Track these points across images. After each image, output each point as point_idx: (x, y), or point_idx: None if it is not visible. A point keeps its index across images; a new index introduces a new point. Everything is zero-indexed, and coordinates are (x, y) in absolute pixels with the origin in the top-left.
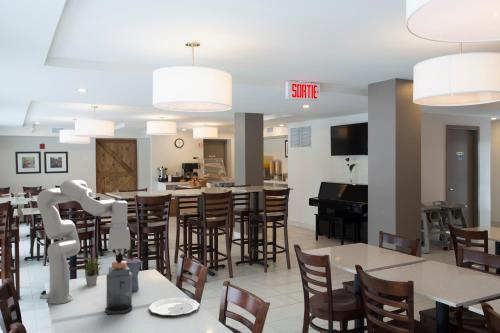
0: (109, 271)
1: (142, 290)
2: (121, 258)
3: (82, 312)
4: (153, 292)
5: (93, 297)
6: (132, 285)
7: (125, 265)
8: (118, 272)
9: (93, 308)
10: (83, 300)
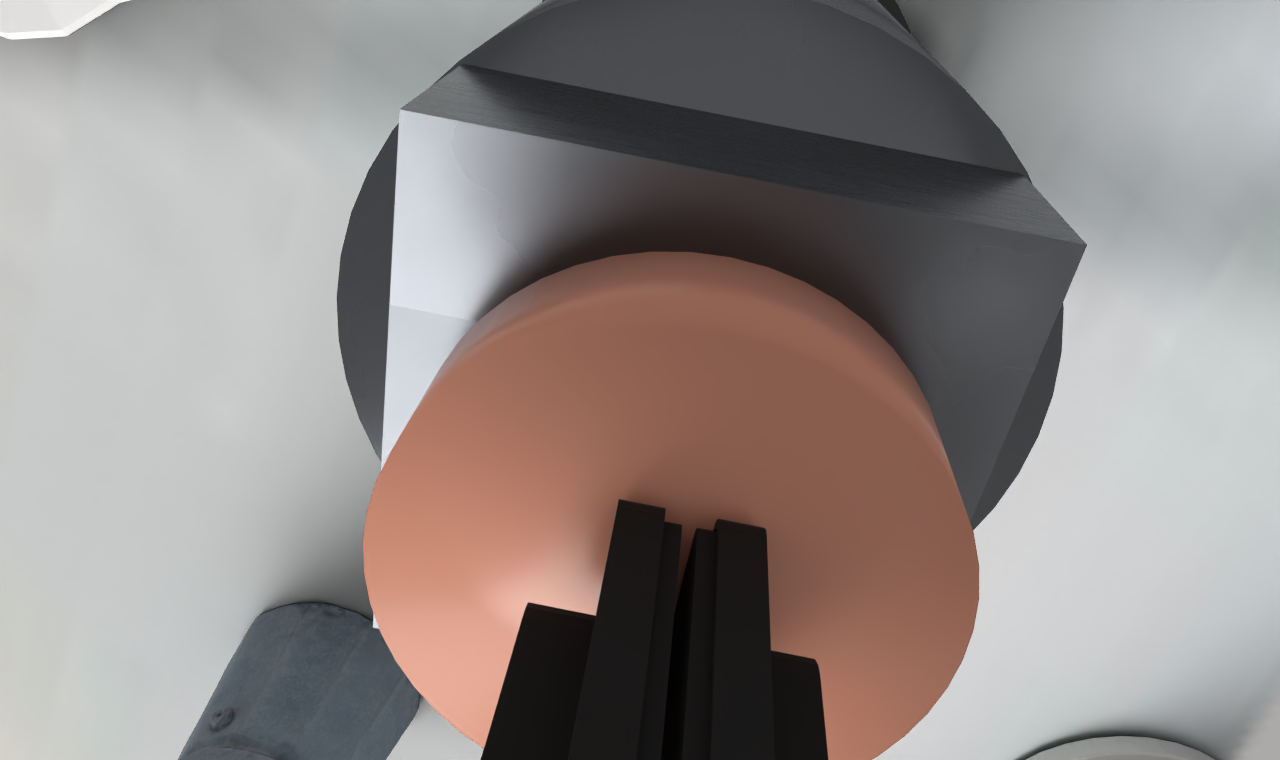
0: None
1: (204, 600)
2: (563, 672)
3: (1139, 346)
4: (92, 466)
5: None
6: (296, 672)
7: (493, 323)
8: (836, 173)
9: None
10: None
